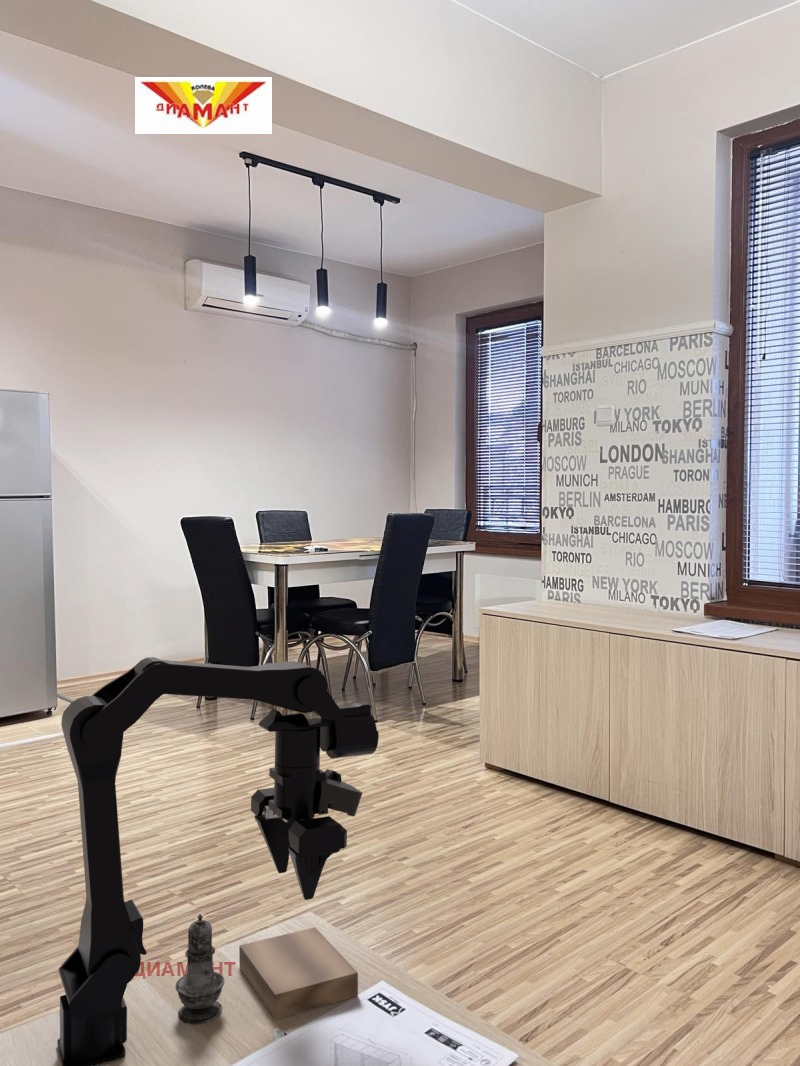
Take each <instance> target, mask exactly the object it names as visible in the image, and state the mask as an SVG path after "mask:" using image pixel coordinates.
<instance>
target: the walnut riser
mask: <svg viewBox="0 0 800 1066" xmlns="http://www.w3.org/2000/svg"><path fill="white" fill-rule="evenodd" d="M238 947H239V969H240V968H241V969H240V970H241V972H242V973H243V975H244V976H245V978H246V979H247V980H248V982H249V984H250V985H251V986H252V988H253V989H254V991H255V992H256V994H257V995H258V996H259V998H260V999H261V1001H262V1003H263V1005H265V1007H266V1008H267V1010H268V1011H269V1013H270V1014H271V1016H272V1017H273V1019H274V1020H279V1019H282V1018H286V1017H290V1016H293V1015H297V1014H300V1013H304V1012H307V1011H310V1010H314V1009H318V1008H322V1007H325V1006H329V1005H331V1004H335V1003H338V1002H342V1001H346V1000H349V999H352V998H356V997H358V995H359V972H358V971H357V970H356V968H354V967H353V966H352V964H351V963H350V962H349V961H348V960H347V959H346V958H345V957H344V955H342V954H341V953H340V951H338V950H337V948H335V946H334V945H332V943H330V941H329V940H328V939H327V937H325V936H324V935H323V934H322V933H321V931H320V930H318V929H317V928H316V927H312V928H311V927H310V928H306V929H303V930H298V931H293V932H289V933H285V934H281V935H277V936H273V937H269V938H264V939H259V940H257V941H256V940H255V941H251V942H248V943H244V944H240V945H239V946H238Z"/></svg>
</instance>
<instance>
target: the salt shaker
mask: <svg viewBox="0 0 800 1066" xmlns="http://www.w3.org/2000/svg"><path fill="white" fill-rule="evenodd" d="M203 918H204V916H203V915H202V914H201V913H199V914H198V916H197V919H196V920H195V921H193V922H192V923H190V925H189V927H188V931H187V933H188V934H187V937H188V939H187V940H188V941H187V944H188V945H187V946H188V947H187V949H186V951H185V952H184V953H185V955H184V956H185V958H187V971H186V974H185V975H183V976H181V977H180V978H179V979H178V980H177V981H176V983H175V991H176V992H177V995H178V997H179V1000H180V1002H181V1003H182V1004H183V1005H182V1006H181V1007H180V1009H179V1010H178V1012H177V1017H178V1019H179V1020H180V1021H181V1022H182V1023H184V1024H189V1025H202V1024H206V1023H210V1022H213V1021H215V1020H216V1019H217V1018H219V1017H220V1015H221V1014H222V1012H223V1006H222V1004H221V1003H220V1002H219V1001H218V999H220V998H219V997H220V996H221V993H222V991H223V988H224V985H225V980H226V979H225V977H224V976H223V975H222V974H221V973H220V972H218V971H215V970H214V967H213V964H214V963H213V958H214V957H213V955H214V954H215V952H216V949H215V947H214V946H213V941H212V940H213V926H212V924H211V923H210V922H209V921H208V920H205V919H203Z"/></svg>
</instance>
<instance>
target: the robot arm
mask: <svg viewBox="0 0 800 1066" xmlns="http://www.w3.org/2000/svg"><path fill="white" fill-rule="evenodd" d="M163 695H170V696H171V695H175V696H187V697H188V696H189V697H193V696H194V697H203V698H205V697H206V698H223V699H237V700H238V699H239V700H251V701H253V700H254V701H257V702H261V703H264V704H265V703H266V704H268V705H271V706H275V707H278V708H282V709H285V710H290V711H293V712H295V713H285V714H282V713H281V711H279V710H277V709H276V708H271V710H270V712H268V714H267V715H266V716H264V717H263V718H262V719H261V720H260V721H259V723H258V726H259V727H260V728H262V729H264V730H266V731H267V732H268V733H272V732H273V733H274V734H275V735H274V736H275V737H274V767H269V773H268V775H269V777H270V778H271V779H273V780H274V783H273V784H274V785H273V787H267V788H260V789H256V791H255V792H254V793H253V795H251V797H250V812H252V813H253V814H254V820H255V822H256V823H257V826H258V828H259V830H260V833H261V835H262V838H263V840H264V842H265V844H266V847H267V850H268V851H269V854H270V856H271V858H272V861H273V864H274V866H275V868H276V871H277V873H278V874H285V873H286V872H288V867H289V860H290V859H291V862H292V866H293V868H294V869H293V870H294V872H295V875H296V879H297V881H298V885H299V888H300V891H301V895H302V897H303V899H304V901H309V900H312V899H313V898H314V897H315V894H316V892H317V891H316V890H317V887H318V885H319V881H320V879H321V876H322V872H323V869H324V868H325V865H326V862H327V859H329V858H330V857H331V856H332V855H333V854H337V853H338V852H340V851H341V850H342V849H345V848H346V847H348V846H347V845H348V830H347V829H346V828H345V827H344V826H343V825H342V824H341V823H339V822H338V821H336V819H334V818H333V817H331V816H329V815H328V816H322V815H327V814H329V810H333V811H336V812H341V813H345V814H346V815H347V816H350V817H356V814H357V811H358V808H359V804H360V801H361V800H362V795H363V791H361V790H360V789H357V788H356V787H355V786H353V785H351V784H348V783H347V782H345V781H342V775H341V773H339V772H338V771H336V770H333V769H329V768H326V769H325V770H322V769H321V766H320V765H321V751H322V752H324V753H326V755H327V757H329V758H330V759H332V760H334V759H340V758H341V759H342V758H343V759H344V758H349V757H357V756H366V755H372V754H374V753H375V752H376V750H377V748H378V743H379V739H380V738H379V735H380V734H379V731H378V729H377V728H378V727H377V723H376V721H375V718H374V716H373V714H372V705H371V704H370V703H366V702H363V701H362V702H361V701H359V702H354V703H351V704H343V705H342V704H341V705H338V704H337V702H336V701H335V699H334V698H333V697H332V696H331V694H330V692H329V691H328V682H327V679H326V677H325V675H324V674H323V672H322V670H320V669H318V668H316V667H313V666H310V665H307V664H305V663H301V662H298V661H294V660H289V661H288V660H287V661H279V662H270V663H264V664H259V665H255V666H254V665H253V666H242V665H241V666H240V665H228V664H226V665H225V664H216V663H205V662H192V661H178V660H166V659H160V658H157V657H153V656H150V657H144V658H142V659H141V660H139V661H138V663H136V664H135V665H133V667H131V668H130V669H128V671H126V672H125V673H122V674H121V675H119V676H118V677H116V678H114V679H112V680H110V682H108V683H105V684H104V685H103V686H102V687H100V688H99V689H98V690H97V691H95V692H94V693H93V694H92V695H84V696H81V697H77V698H76V699H75V700H73V701H72V702H71V703H69V705H68V706H67V707H66V709H64V710H63V711H62V715H61V723H60V724H61V729H62V733H63V736H64V740H65V744H66V745H65V746H66V747H67V748H66V749H67V752H68V755H69V757H70V761H71V763H72V767H73V771H74V773H75V776H76V780H77V790H78V791H77V792H78V801H79V804H78V805H79V814H80V815H79V817H80V829H81V830H80V831H81V844H82V856H83V857H82V858H83V869H84V871H83V872H84V882H85V883H84V884H85V895H86V897H85V899H86V900H85V904H84V907H83V908H84V909H83V911H82V915H81V919H80V920H81V921H80V927H79V937H78V946H77V947H76V948H75V949H74V950H73V951H72V953H71V954H69V956H68V957H67V958H66V960H65V961H64V962H63V963H62V964H61V965H60V966H59V968H58V973H59V974H58V975H59V977H60V980H61V983H62V987H63V989H64V992H65V994H63V995H60V996H59V1038H58V1039H57V1042H56V1043H57V1049H58V1054H59V1057H60V1063H61V1066H98V1065H103V1064H106V1063H108V1062H112V1061H116V1060H119V1059H122V1058H125V1056H126V1049H125V1045H124V1044H125V1043H127V1041H128V1007H127V1004H126V1001H125V999H124V995H125V992H126V989H127V986H128V984H129V983H130V982H132V980H133V978H135V976H136V975H137V974H138V973H139V972H140V968H141V964H142V963H141V962H142V957H141V955H144V956H147V954H148V953H147V950H146V948H145V946H144V943H143V933H144V932H143V931H144V918H143V916H142V914H141V913H140V910H139V909H138V907H137V906H136V904H135V902H134V900H133V899H130V900H128V901H125V898H124V897H125V896H124V883H123V882H124V880H123V870H122V869H123V868H122V857H121V855H122V854H121V843H120V841H121V839H120V830H119V829H120V828H119V827H120V826H119V815H118V814H119V813H118V801H117V788H116V787H117V786H116V779H117V774H118V771H119V766H120V762H121V758H122V752H123V751H122V750H123V743H124V742H123V741H124V735H125V734H124V732H126V731H127V730H129V728H131V727H132V726H133V725H134V724H136V723H137V721H139V720H140V718H141V717H143V715H144V714H145V713H146V712H147V711H148V709H149V708H150V707H151V706H152V705H153V704H154V703H155V701H157V700H158V699H159V698H161V697H162V696H163ZM296 712H297V713H296ZM309 713H310V714H311V713H312V714H314V715H317V716H318V717H313V718H310V717H309V718H307V717H306V715H305V714H309ZM316 815H321V817H320V816H319V817H316Z"/></svg>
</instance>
